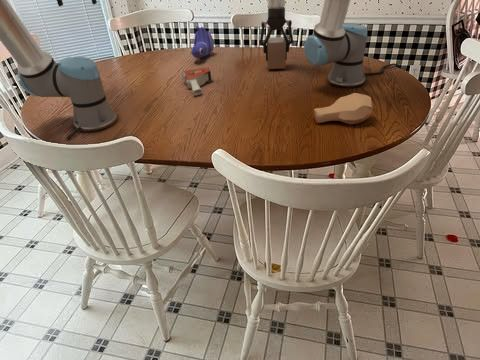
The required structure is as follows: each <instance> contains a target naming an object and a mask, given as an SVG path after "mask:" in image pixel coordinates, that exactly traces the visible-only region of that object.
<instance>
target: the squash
mask: <svg viewBox="0 0 480 360" xmlns="http://www.w3.org/2000/svg"><path fill="white" fill-rule="evenodd" d="M373 111H374V104H373V100H372V97H371V96H369V95H366V94H364V93H363V94H362V93H357V92H353V93H351V94H348V95H345V96H341V97H338V99H337V100H335V102H334V103H332V104H331V105H330V106H325V107H316V108H314V109H313V116H314V118H315V122H316V123H317V124H320V123H325V122H332V121H336V122H339V121H340V122H341V123H343V124H344V123H345V124H347V125H356V124H361V123H363V122H365V121H367V120H368V119H370V118H371V116H372V115H373Z"/></svg>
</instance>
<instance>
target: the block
mask: <svg viewBox="0 0 480 360" xmlns="http://www.w3.org/2000/svg"><path fill="white" fill-rule="evenodd" d="M267 46H268V61H266V65H267V70H275V69H276V70H277V69H278V70H279V69H286V63H287V60H286V41H285V39H284V36H279V37H278V36H277V37H269V40H268V42H267Z"/></svg>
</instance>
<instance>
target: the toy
mask: <svg viewBox="0 0 480 360" xmlns="http://www.w3.org/2000/svg"><path fill="white" fill-rule="evenodd" d="M194 30H197V31H196V32H195V35H194V39H193V45H192V48H191V49H190V54H191V55H192V56H193V57H194V58H195V59H196V60H197V62H198V63H199V62H200V58H203V57H206V56H208V55H210V54H211V52H212V51H214V49H215V41H214V38H213V36H212V34H211V32H210V31H209V30H206V29H205V28H204V27H203V26H201V27H199V26H196V27H194Z"/></svg>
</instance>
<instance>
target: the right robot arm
mask: <svg viewBox="0 0 480 360" xmlns="http://www.w3.org/2000/svg"><path fill="white" fill-rule="evenodd" d="M350 3H351V0H324V2H323V7H322V11H321V15H320V21H319V22H318V23H316V24H315V25H314V27H313V32H312V35H309V36H307V37H306V38H305V40H304V43H303V52H304V55H305V57H306V60H307V61H308V62H309V64H311V65H312V66H314V67H323V66H326V65H329V64H332V67H331V69H330V71H329V74H328V76H327V83H329V84H330V85H331V86H334V87H337V88H345V89H352V88H359V87H361V86H363V85H364V84H365V81H366V76H372V75H373V76H375V75H380V74H383V73H384V72H385V71H384V70H385V68H388V67H391V66H395V67H397V68H400V67H401V66H400V65H399V64H398V63H388V64H386V65H383V66H382V67H381V70H380V71H376V72H365V70H364V58H365V52H366V45H367V39H368V28H367V27H366V25H363V24H360V23H359V24H358V23H353V22H352V23H350V22H345V21H346V17H347V13H348V10H349V7H350ZM267 7H268V8H267V20H266V21H261V22H260V24H261V25H260V26H261V30H260V36H259V42H258V43H259V46H262V49H263V52H262V53H263V54H265V61H266V62H267V61H268V46H267V42H268V40H269V38H271V35H272V33H273V32H274V31H280V32H281V34H282V37H284V39H285V41H286V61H287V59H288V53H289V52H290V45H291V44H292V45H293V44H294V36H293V30H292V25H293V21H292V20H291V19H286V0H267ZM285 24H286V26H287V28H288V35H289V38H288V37H287V34H286V31H285V30H284V26H285ZM267 25H268V27H269V29H268V30H267V33H266V36H265V38H264V35H265V28H266V26H267Z"/></svg>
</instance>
